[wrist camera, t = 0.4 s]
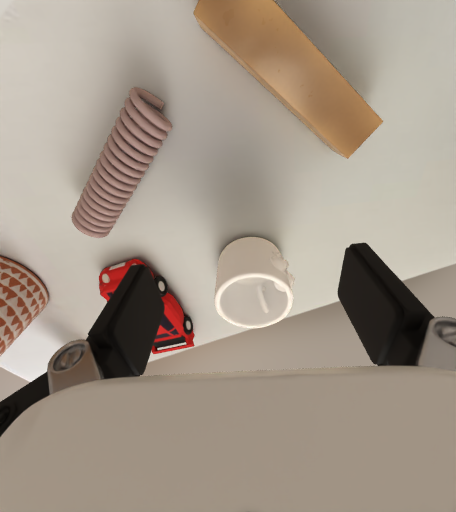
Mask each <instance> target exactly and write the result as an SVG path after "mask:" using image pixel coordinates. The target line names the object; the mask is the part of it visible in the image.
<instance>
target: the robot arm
mask: <svg viewBox="0 0 456 512" xmlns="http://www.w3.org/2000/svg"><path fill="white" fill-rule="evenodd" d="M338 297H339V299H340V301H341V303H342V305H343V307H344V309H345V311H346V313H347V315H348V317H349V319H350V321H351V323H352V324H353V326H354V328H355V330H356V332H357V333H358V336H359V338H360V340H361V342H362V343H363V346H364V347H365V349H366V351H367V353H368V355H369V357H370V359H371V361H372V362H373V363H374V364H377V365H378V366H356V367H330V368H305V369H304V368H303V369H281V370H257V371H235V372H213V373H193V374H174V375H154V376H140V375H142V374H143V373H144V371H145V368H146V365H147V362H148V359H149V356H150V353H151V350H152V347H153V344H154V341H155V338H156V335H157V332H158V329H159V326H160V323H161V320H162V317H163V314H164V311H165V305H164V302H163V300H162V298H161V295H160V293H159V290H158V288H157V286H156V283H155V281H154V278H153V276H152V273H151V271H150V269H149V267H146V266H145V265H144V264H137V265H131V266H130V267H129V269H128V271H127V272H126V274H125V275H124V277H123V279H122V280H121V282H120V283H119V285H118V287H117V288H116V290H115V291H114V293H113V295H112V296H111V298H110V299H109V301H108V302H107V304H106V306H105V307H104V309H103V310H102V312H101V314H100V315H99V317H98V318H97V320H96V322H95V323H94V325H93V326H92V328H91V330H90V331H89V333H88V335H89V336H88V337H87V339H86V340H75V341H72V342H70V343H68V344H66V345H64V346H63V347H61V348H60V349H59V350H58V351H57V352H56V353H55V354H54V355H53V356H52V358H51V359H50V361H49V363H48V368H47V372H46V373H44V374H43V375H41V376H40V377H38V378H37V379H35V380H34V381H32V382H30V383H29V384H27V385H26V386H24V387H23V388H21V389H20V390H18V391H17V392H15V393H13V394H12V395H10V396H9V397H7V398H6V399H4V400H3V401H1V402H0V512H456V319H455V318H452V317H443V316H442V317H436V318H435V317H434V316H433V315H432V314H431V313H430V312H429V311H428V310H427V309H426V308H425V307H424V305H423V304H422V303H421V302H420V301H419V300H418V299H417V298H416V297H415V296H414V294H413V293H412V292H411V291H410V290H409V289H408V288H407V287H406V286H405V285H404V284H403V282H402V281H401V280H400V279H399V278H398V277H397V276H396V275H395V274H394V273H393V272H392V271H391V270H390V269H389V267H388V266H387V265H386V264H385V263H384V262H383V261H382V260H381V259H380V258H379V256H378V255H377V254H376V253H375V252H374V251H373V250H372V249H371V248H370V247H369V245H368V244H366V243H357V244H351V245H350V247H349V248H346V250H345V255H344V261H343V266H342V271H341V276H340V282H339V287H338Z"/></svg>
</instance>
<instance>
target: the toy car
mask: <svg viewBox="0 0 456 512" xmlns="http://www.w3.org/2000/svg"><path fill="white" fill-rule="evenodd" d="M137 264H144V265H145V266H146V267H148V266H147V265H146V264H145V263H143V262H142V261H140V260H137V259H132V260H130V261H127V262H124V263H121V264H117V265H114V266H111V267H107V268H105V269H104V270H103V271H102V272H101V273H100V276H99V282H100V283H99V289H100V295H101V296H103V297H104V298H105V299H106V300H107V302H108V301H109V299H110V298H111V296H112V295H113V293H114V291H115V290H116V288H117V287H118V285H119V283H120V282H121V280H122V279H123V277H124V275H125V274H126V272H127V271H128V269H129V267H130V266H131V265H137ZM150 271H151V270H150ZM151 273H152V271H151ZM152 276H153V273H152ZM153 278H154V276H153ZM154 281H155V283H156V286H157V288H158V290H159V293H160V295H161V298H162V300H163V302H164V305H165V311H164V314H163V317H162V320H161V323H160V326H159V329H158V332H157V335H156V338H155V341H154V344H153V347H152V353H153V354H157V353H162V352H167V351H172V350H177V349H182V348H187V347H192V346H194V343H193V338H194V335H195V334H194V333H193V324H192V321H191V319H190V318H189V317H188V316H185V317H184V315H183V310H182V308H181V307H180V305H179V304H178V303H177V301H176V300H175V298H174V297H173V295H171V294H169V293H167V290H168V289H167V283H166V281H165V280H164V278H163V277H161V276H157V277H155V279H154ZM184 342H186V344H187V345H182V346H177V347H172V348H167V349H162V350H157V348H160V347H166V346H170V345H174V344H179V343H184Z"/></svg>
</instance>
